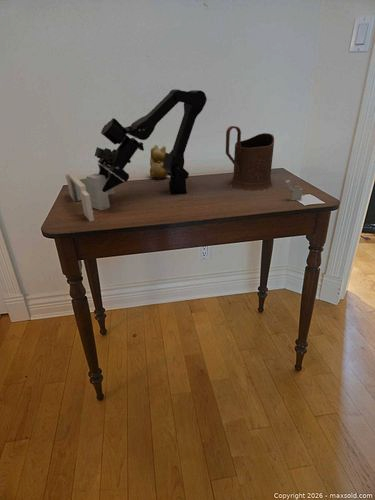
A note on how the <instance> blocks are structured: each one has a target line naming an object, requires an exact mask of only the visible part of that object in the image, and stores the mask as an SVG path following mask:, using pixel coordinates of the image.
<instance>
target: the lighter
mask: <svg viewBox="0 0 375 500" xmlns="http://www.w3.org/2000/svg"><path fill="white" fill-rule="evenodd" d="M284 184H285V187H286V189H287V191H288V192H289V193H290V194H289V199H290V201H292V200H296V201H300V200H299V199H301V200H302V199H303V198H302V197H303V191H304V189H303V188H302V187H301V185H294V186H292V183H291V180H290V179H289V178H288V179H286V180H285V181H284ZM292 202H293V201H292Z"/></svg>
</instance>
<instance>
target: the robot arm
mask: <svg viewBox="0 0 375 500" xmlns="http://www.w3.org/2000/svg"><path fill="white" fill-rule="evenodd" d="M168 92H169V93H168V94H167V95H166V96H165V97H163V98H162V100H161V101H160V102H158V103H157V104H156V105H155V107H154V108H152V109H151V110H150V111H149V112H148V113H147V114H146V115H144V116H142V117H140V118H138V119H137V120H135V121H134V122H132V123H131V124H130V126H123V125H122V124H121V123H120V122H119V120H117V119H116V118H111V120H109V121H108V122H107V123H106V124H104V125H103V127H102V129H101V130H100V134H101V135H102V136H103V137H105V138H106V139H107V140H108V141H110V142H111V143H113V145H117V144H118V147H117V148H116V149H115V148H114V149H112V150H111V148H107V147H105V148H101V147H98V146H97V147H96V148H95V151H94V153H95V154H94V157H96V158H98V160H97V163H98V164H97V165H98V169H99V170H98V174H100V175H103V176H105V179H107V178H108V179H107V181H106V183H105V185H104V187H103V189H102V191H103V192H106V191H108V190H110V189H111V188H113V187H114V188H116V186H117V187H118V186H119V185H121V184H124V182H125V183H127V182H128V180H129V179H130V174H129V173H128V172H127V171H125V167H126V166H127V165H128V164H131V162H132V159H131V158H133V156H134V154H135V153H136V152H137V151H138V150H140V151H142V152H143V151H145V149H144V143H143V142H141V141H146V140H148V139H149V138H150V137H151V135H152V134H153V132H154V131H155V128H156V126H157V125H158V123H160V121H161V120H163V119H164V118H165V116H166V115H168V113H169V112H170V111H171V110H172V109H173V108H175V106H177V104H178V103H183V116H182V119H181V123H180V125H179V127H178V132H177V135H176V138H175V141H174V144H173V147H172V149H171V151H170V152H169V153H168V152H166V154H165V158H164V160H163V168H164V170H165V171H166V172H167V174H168V176H167V177H169V179H168V185H169V187H168V188H169V189H168V190H169V192H170V195H180V194H181V195H182V194H187V193H188V192H187V179H188V178H189V176H190V172H188V170H187V169H185V168H184V166H185V152H186V150H187V149H186V148H187V146H188V142H189V140H190V136H191V134H192V131H193V129H194V125H195V121H196V119H197V117H198V116H199V114H201V112H203V109H204V107H205V106H206V103H207V100H208V99H207V95H206V93H205V91H202V90H199V89H197V90H193V89H191V90H189V91H187V90H181V89H179V88H178V89H175V88H174V89H171V90H170V91H168ZM130 137H131V138H130ZM137 139H138V140H141V141H140V142H139V141H138V140H137Z"/></svg>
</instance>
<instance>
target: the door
mask: <svg viewBox="0 0 375 500" xmlns="http://www.w3.org/2000/svg"><path fill="white" fill-rule="evenodd" d="M78 179H79V180H80V181H81V182H82V183H83V184H84V185H85V187H86V192H87V193H88V194H89V195H90V193H89V188H88V182H87V177H84V178H82V177H81V178H78ZM107 179H108V178H107ZM107 179H106V181H107ZM71 184H72V188H73V193H74V198H75V201H74V202H79V201H82V200H81V195H80V190H79V188H78V187H77V186H76V185H75V184H74V183H73V181H72V180H71ZM114 188H115V187H113V188H111V189H110V190H108V191H107V192H108V196H111V195H114V194H115V189H114Z"/></svg>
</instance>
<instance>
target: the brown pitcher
mask: <svg viewBox="0 0 375 500" xmlns="http://www.w3.org/2000/svg"><path fill="white" fill-rule="evenodd" d="M232 129H235V130H236V132H237V135H236V136H237V138H236V142H235V143H234V153H233V155H234V158H233V156H232V155H231V154H230V138H231V137H230V136H231V135H230V134H231V131H232ZM241 130H242V129H241V128H240V127H239V126H235V125H230V126H229V127H227V129H226V131H225V132H226V133H225V155H226V156H227V157H228V159H229V160H230V161H231V162H232V164H233V177H232V180H231V181H230V183H231V185H232V186H233V187H232V186H231V185H230V186H231V187H232V188H234V187H235V188H234V189H236V188H238V189H237V190H240V189H243V190H242V191H248V190H249V191H250V192H253V191H257V190H259V191H265V190H264V189H266V190H268V188H269V189H271V188H273V186H274V185H273V182H272V177H271V175H272V166H273V156H274V155H273V154H274V147H275V137H274V135H273V134H272V133H266V132H264V133H259V134H257V135H254V136H251V137H250V138H248V139H244V140H242V138H241V137H242V136H241V135H242V131H241ZM272 185H273V186H272ZM270 187H271V188H270Z"/></svg>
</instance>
